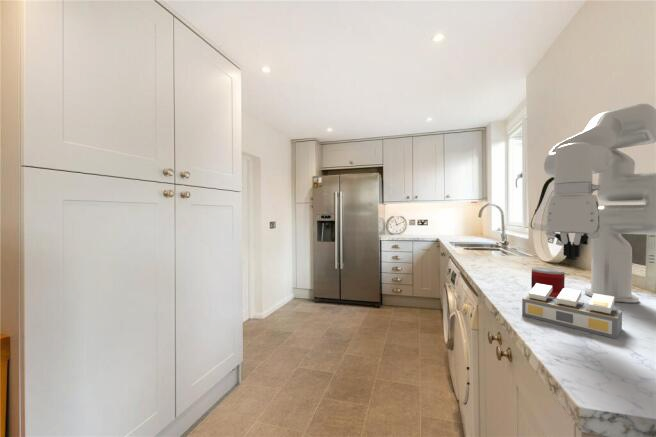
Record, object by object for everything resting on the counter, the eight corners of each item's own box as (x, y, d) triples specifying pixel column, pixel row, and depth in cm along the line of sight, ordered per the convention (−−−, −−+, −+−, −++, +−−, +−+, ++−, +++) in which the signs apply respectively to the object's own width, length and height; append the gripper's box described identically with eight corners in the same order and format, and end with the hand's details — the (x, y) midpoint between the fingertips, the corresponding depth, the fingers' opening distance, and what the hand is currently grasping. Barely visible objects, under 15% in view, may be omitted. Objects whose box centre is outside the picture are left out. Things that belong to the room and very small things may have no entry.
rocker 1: (536, 287, 78) (536, 283, 78) (552, 290, 75) (552, 285, 75) (529, 297, 74) (528, 292, 74) (545, 300, 71) (545, 295, 71)
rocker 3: (594, 298, 69) (593, 292, 68) (614, 301, 66) (614, 296, 65) (588, 309, 64) (588, 303, 64) (610, 313, 62) (610, 307, 61)
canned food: (570, 309, 79) (570, 272, 79) (539, 307, 81) (540, 271, 81) (554, 301, 87) (554, 267, 86) (526, 299, 88) (526, 266, 88)
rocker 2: (563, 292, 73) (563, 287, 73) (581, 296, 70) (581, 290, 70) (556, 302, 69) (556, 297, 69) (575, 306, 66) (575, 301, 66)
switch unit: (532, 308, 80) (532, 292, 80) (621, 328, 65) (622, 309, 65) (521, 315, 74) (521, 298, 74) (616, 339, 60) (617, 318, 60)
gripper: (615, 189, 68) (614, 261, 68) (541, 193, 79) (541, 254, 79) (610, 187, 63) (609, 264, 63) (533, 191, 75) (532, 256, 75)
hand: (571, 259), depth 71 cm, fingers closed
